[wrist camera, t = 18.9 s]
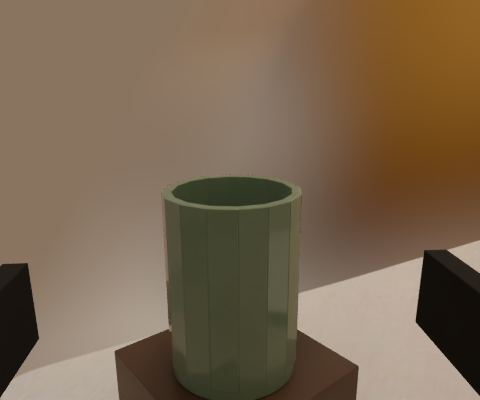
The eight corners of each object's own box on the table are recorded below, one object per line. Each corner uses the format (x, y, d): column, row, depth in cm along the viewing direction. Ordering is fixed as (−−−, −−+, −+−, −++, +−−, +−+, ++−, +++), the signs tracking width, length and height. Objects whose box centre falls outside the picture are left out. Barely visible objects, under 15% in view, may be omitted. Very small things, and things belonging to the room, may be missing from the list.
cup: (149, 353, 25) (137, 187, 22) (242, 313, 29) (241, 169, 26) (220, 425, 19) (216, 219, 17) (321, 363, 24) (330, 191, 21)
